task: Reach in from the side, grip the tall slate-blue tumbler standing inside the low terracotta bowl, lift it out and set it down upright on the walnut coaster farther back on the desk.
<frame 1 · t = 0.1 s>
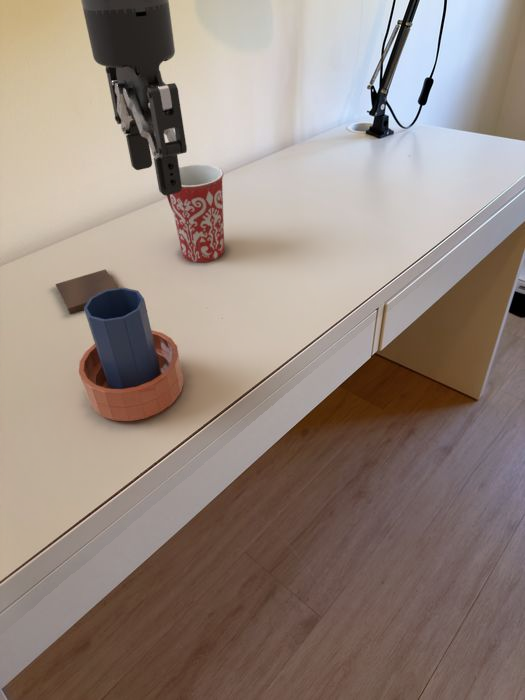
hand: (156, 179, 57), 22 cm above the table, tool pointing down, fingers open, 8 cm apart
bowl: (137, 390, 63), on the table
mug: (198, 249, 91), on the table
tumbler: (136, 386, 63), point 1 cm above the table, touching bowl
coaster: (89, 293, 81), on the table
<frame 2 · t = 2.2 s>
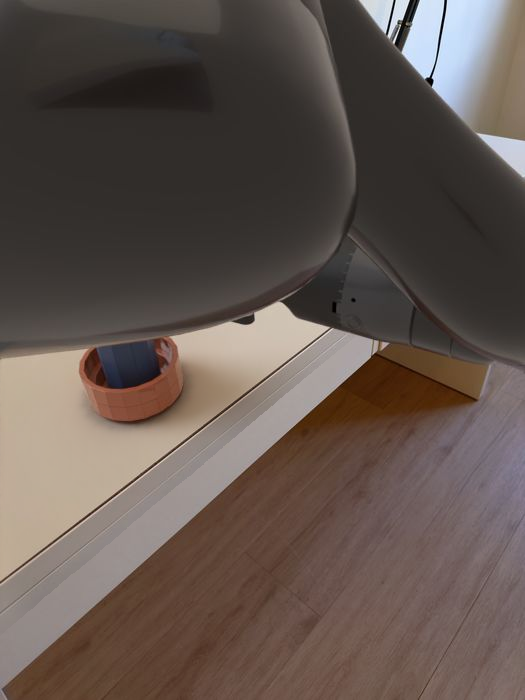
hand: (185, 241, 45), 22 cm above the table, tool horizontal, fingers open, 8 cm apart
nothing on the table moved.
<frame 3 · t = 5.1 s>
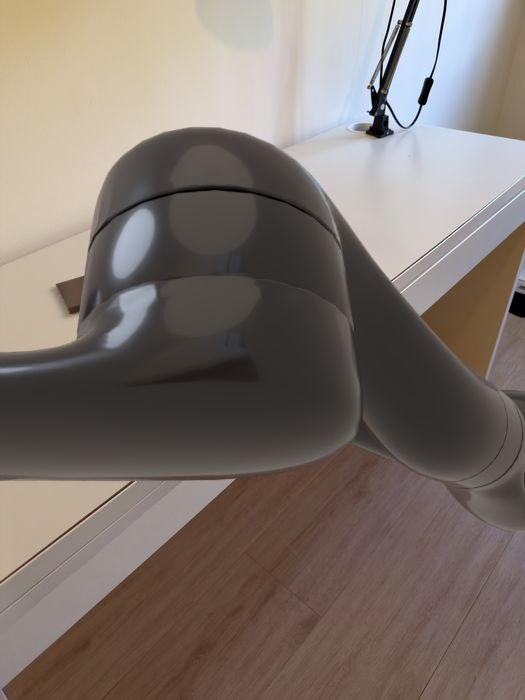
hand: (173, 338, 54), 11 cm above the table, tool horizontal, fingers open, 8 cm apart
nothing on the table moved.
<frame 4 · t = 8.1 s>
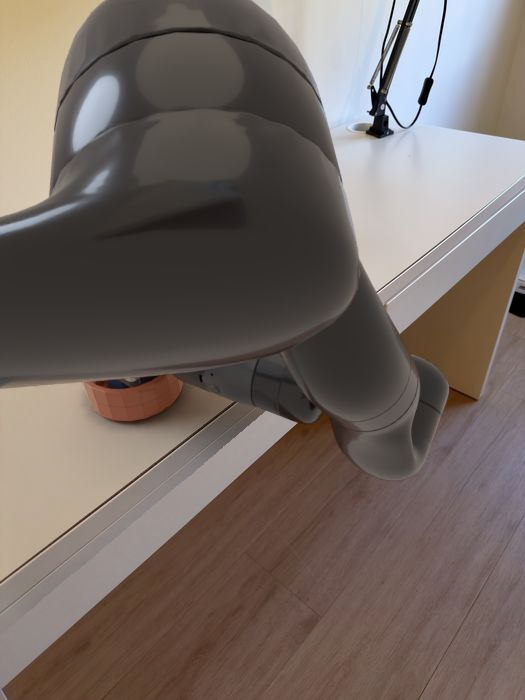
hand: (101, 313, 58), 11 cm above the table, tool horizontal, fingers closed on tumbler, 6 cm apart
tumbler: (136, 386, 63), point 1 cm above the table, touching bowl, gripper
everything else where it was.
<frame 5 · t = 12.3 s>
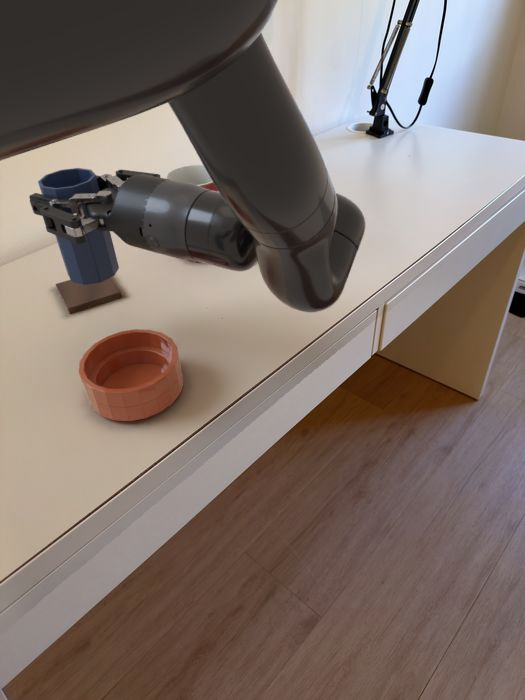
hand: (57, 192, 61), 20 cm above the table, tool horizontal, fingers closed on tumbler, 6 cm apart
tumbler: (93, 271, 66), point 10 cm above the table, touching gripper
everything else where it was.
when the fingers open (11 cm above the table, at t = 16.9 s): tumbler stays where it is, resting on coaster.
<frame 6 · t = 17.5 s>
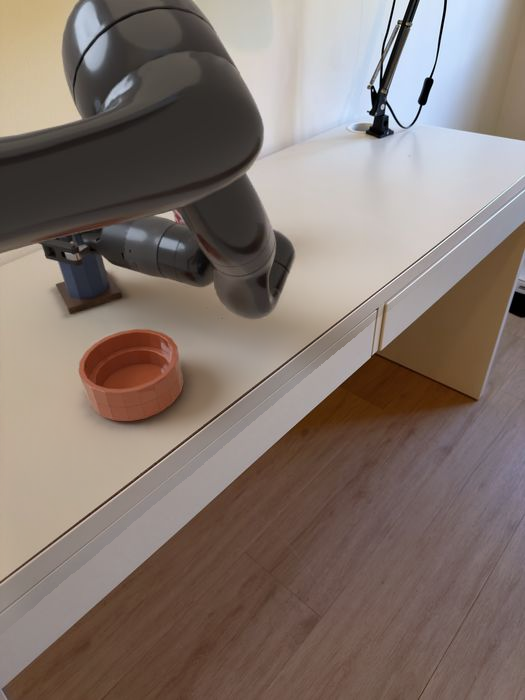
hand: (58, 220, 74), 12 cm above the table, tool horizontal, fingers open, 8 cm apart
tumbler: (88, 287, 80), point 1 cm above the table, touching coaster
everything else where it was.
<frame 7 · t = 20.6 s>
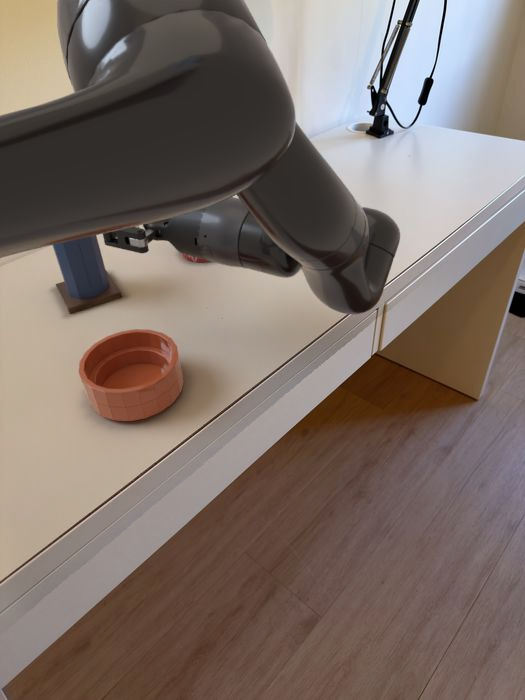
hand: (113, 204, 67), 16 cm above the table, tool horizontal, fingers open, 8 cm apart
nothing on the table moved.
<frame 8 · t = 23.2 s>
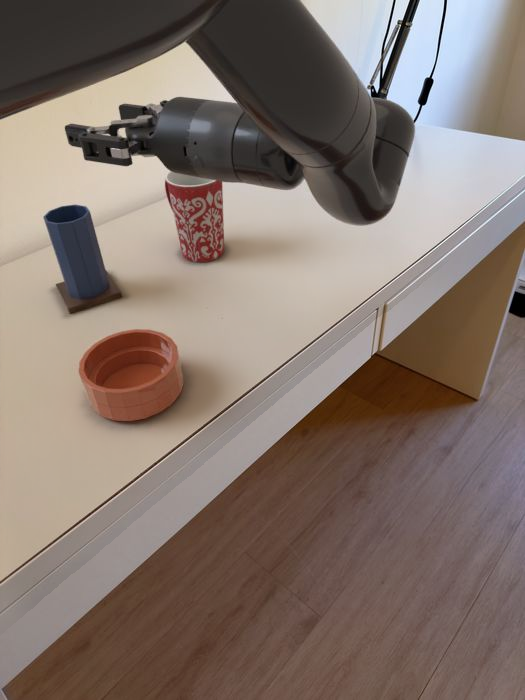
hand: (96, 123, 60), 26 cm above the table, tool horizontal, fingers open, 8 cm apart
nothing on the table moved.
at the end: tumbler 0.1 cm off-centre on the coaster, point 1.0 cm above the coaster's base; tumbler tilted 0°; tumbler moved 25.0 cm from its start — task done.
